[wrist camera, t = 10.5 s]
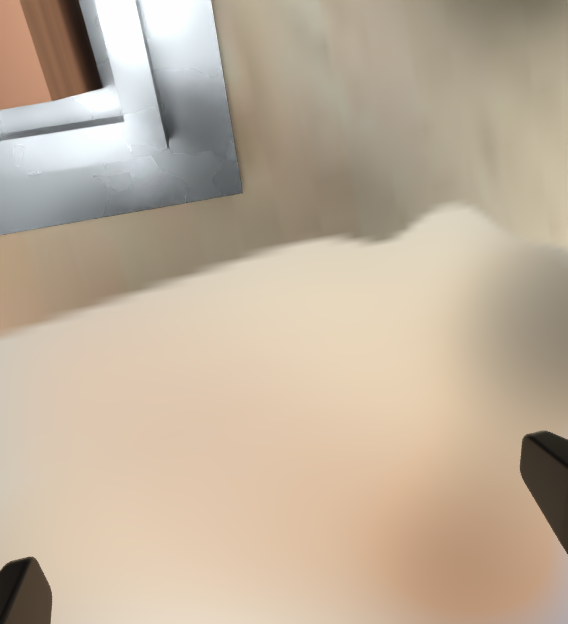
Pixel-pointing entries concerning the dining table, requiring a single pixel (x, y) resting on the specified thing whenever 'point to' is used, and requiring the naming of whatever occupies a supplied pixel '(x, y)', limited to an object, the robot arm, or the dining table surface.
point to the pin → (44, 52)
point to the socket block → (125, 123)
